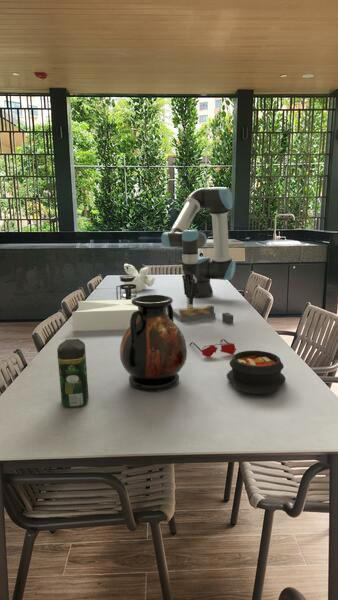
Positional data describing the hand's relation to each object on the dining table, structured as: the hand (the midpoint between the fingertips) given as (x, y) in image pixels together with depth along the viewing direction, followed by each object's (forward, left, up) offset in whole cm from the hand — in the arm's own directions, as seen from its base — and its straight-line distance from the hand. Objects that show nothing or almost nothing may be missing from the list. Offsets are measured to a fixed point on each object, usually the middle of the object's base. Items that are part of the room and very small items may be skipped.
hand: (189, 310), depth 217 cm
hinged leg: (-3, +2, -2) cm, 4 cm away
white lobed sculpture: (+7, -81, -5) cm, 81 cm away
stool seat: (-3, -5, -5) cm, 7 cm away
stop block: (-15, +12, -5) cm, 20 cm away
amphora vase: (+37, +68, -5) cm, 78 cm away
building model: (+32, -5, -5) cm, 33 cm away
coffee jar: (+63, +74, -5) cm, 97 cm away
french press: (+24, -36, -5) cm, 43 cm away
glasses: (+7, +45, -5) cm, 46 cm away
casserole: (+6, +79, -5) cm, 79 cm away
